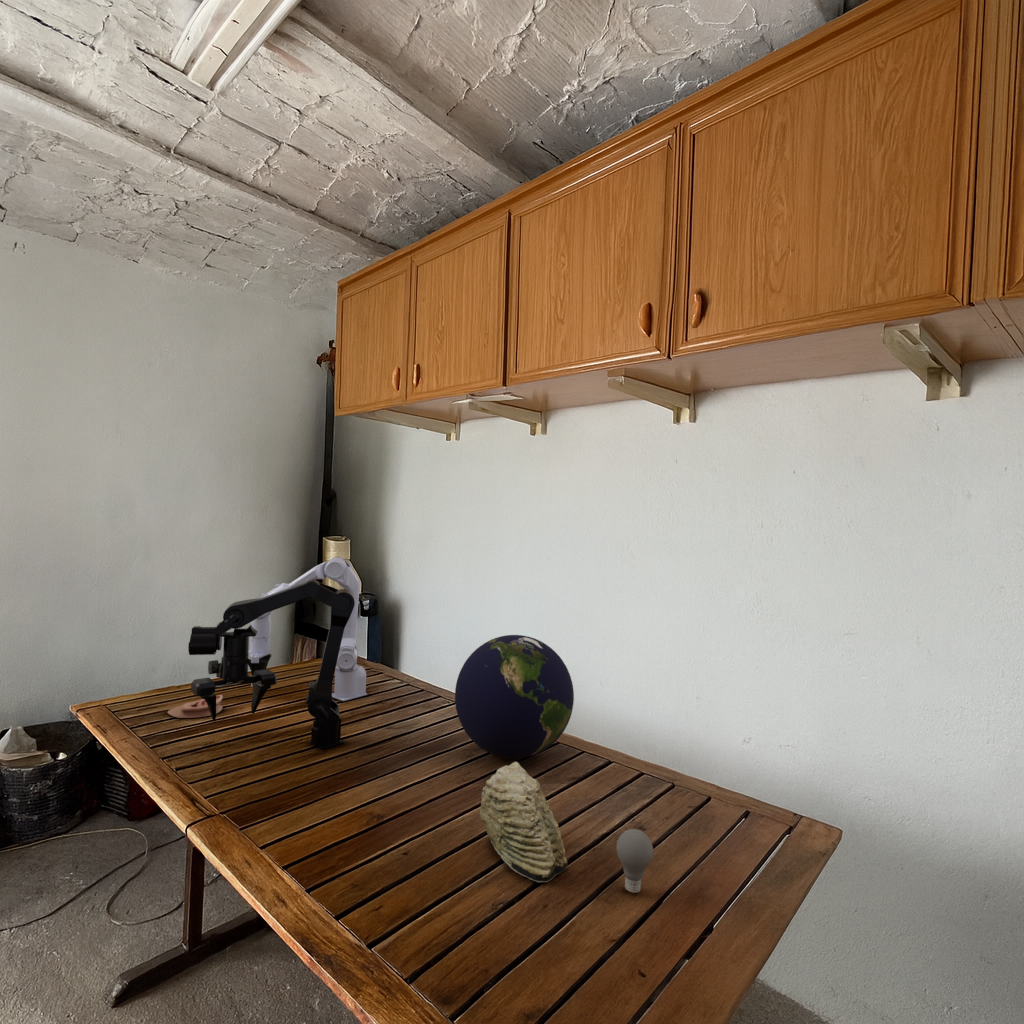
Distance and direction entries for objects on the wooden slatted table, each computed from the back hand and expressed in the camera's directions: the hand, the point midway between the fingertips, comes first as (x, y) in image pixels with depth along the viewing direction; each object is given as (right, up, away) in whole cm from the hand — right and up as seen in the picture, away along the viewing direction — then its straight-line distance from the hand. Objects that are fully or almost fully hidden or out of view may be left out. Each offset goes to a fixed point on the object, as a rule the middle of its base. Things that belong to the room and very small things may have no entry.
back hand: (258, 680), depth 196 cm
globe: (+78, -9, -36) cm, 86 cm away
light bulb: (+98, -11, -90) cm, 134 cm away
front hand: (+10, +2, -40) cm, 41 cm away
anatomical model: (-12, -5, -15) cm, 20 cm away
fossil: (+80, -10, -81) cm, 114 cm away
